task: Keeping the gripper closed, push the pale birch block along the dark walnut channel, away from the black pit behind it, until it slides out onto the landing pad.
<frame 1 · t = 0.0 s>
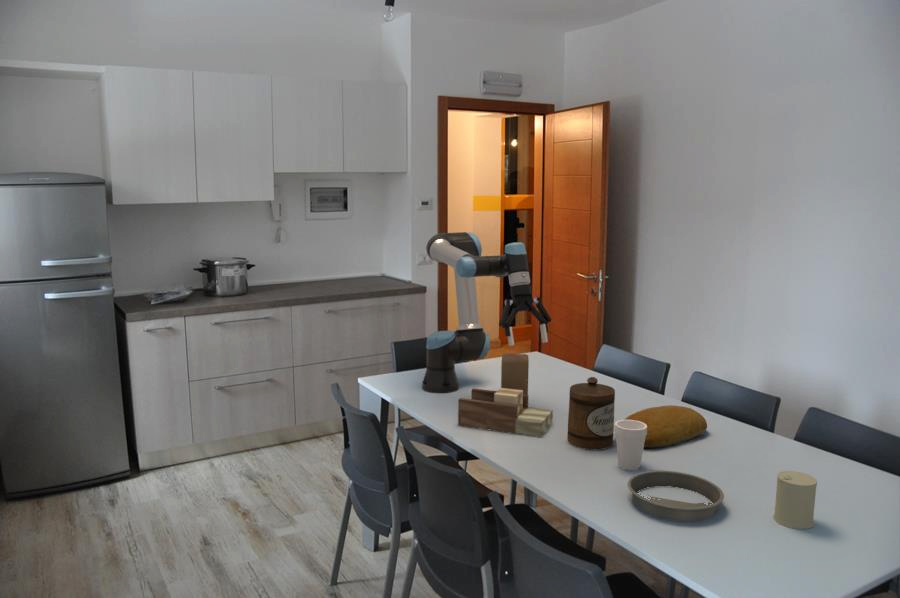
hand: (528, 344, 255), 28 cm above the table, tool tilted 20°, fingers open, 13 cm apart
can: (793, 521, 182), on the table
bread: (660, 437, 243), on the table
wooden block: (514, 408, 273), on the table
cake pan: (673, 504, 192), on the table
foam cup: (628, 466, 217), on the table
wooden container: (590, 442, 237), on the table
chute: (505, 424, 253), on the table
birch block: (508, 411, 252), point 5 cm above the table, touching chute
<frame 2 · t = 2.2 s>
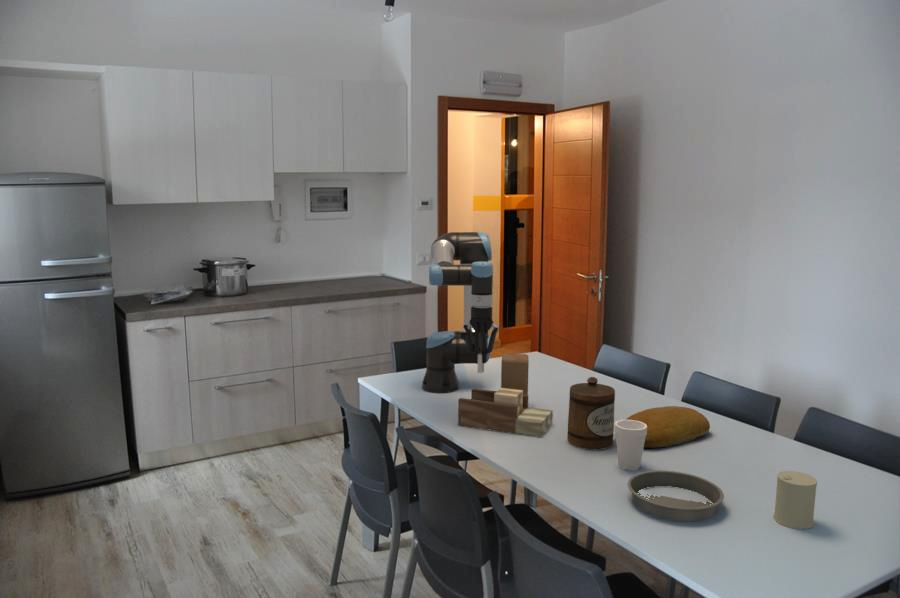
hand: (480, 371, 254), 18 cm above the table, tool pointing down, fingers closed
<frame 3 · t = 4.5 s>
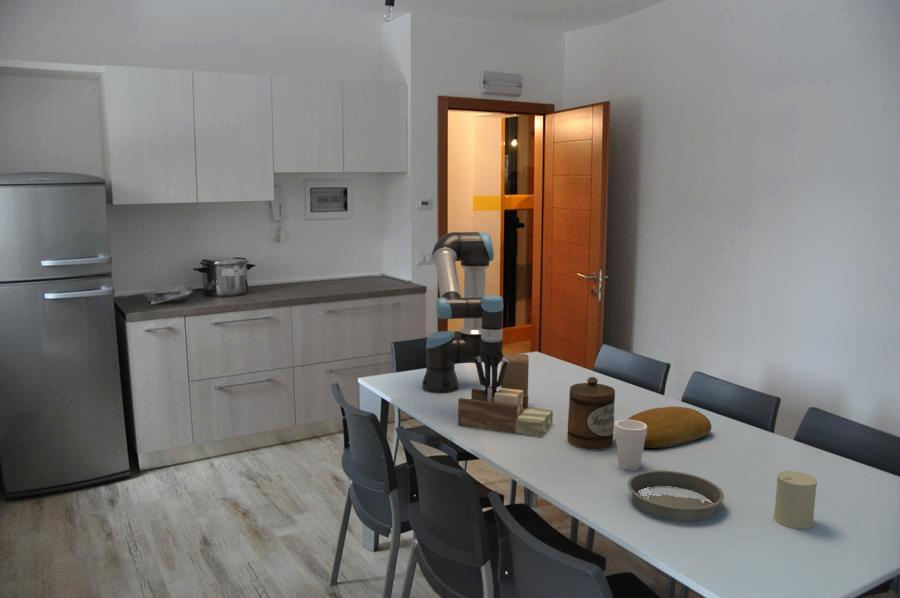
hand: (490, 404, 254), 7 cm above the table, tool pointing down, fingers closed
birch block: (508, 411, 252), point 5 cm above the table, touching chute, gripper
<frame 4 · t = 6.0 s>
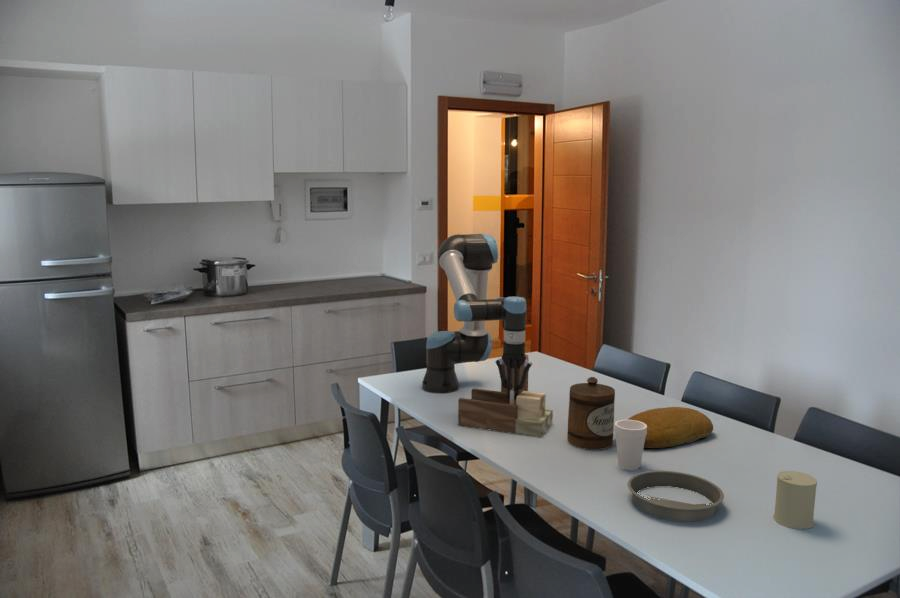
hand: (512, 407, 251), 7 cm above the table, tool pointing down, fingers closed
birch block: (530, 414, 249), point 5 cm above the table, touching chute, gripper
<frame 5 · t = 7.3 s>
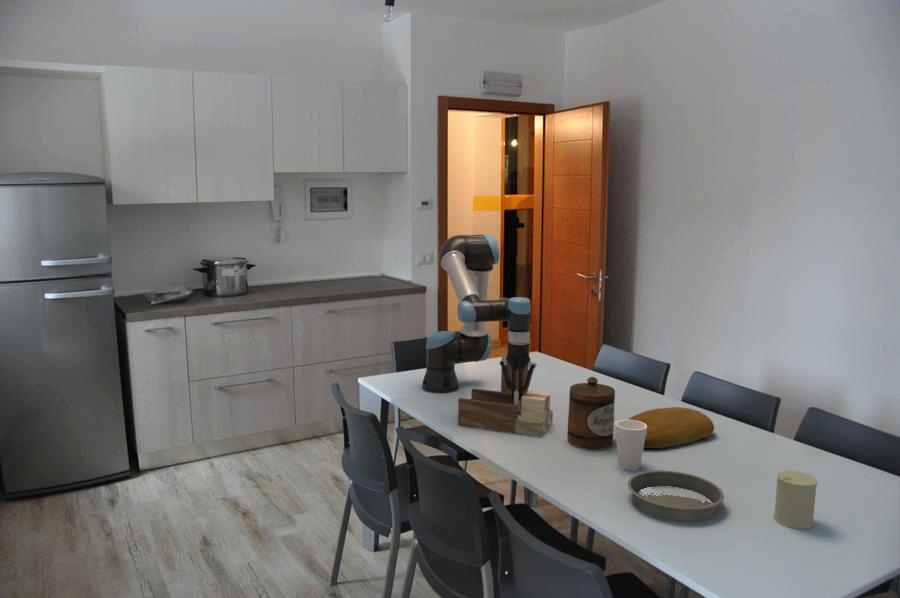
hand: (517, 408, 250), 6 cm above the table, tool pointing down, fingers closed
birch block: (535, 415, 248), point 5 cm above the table, touching chute
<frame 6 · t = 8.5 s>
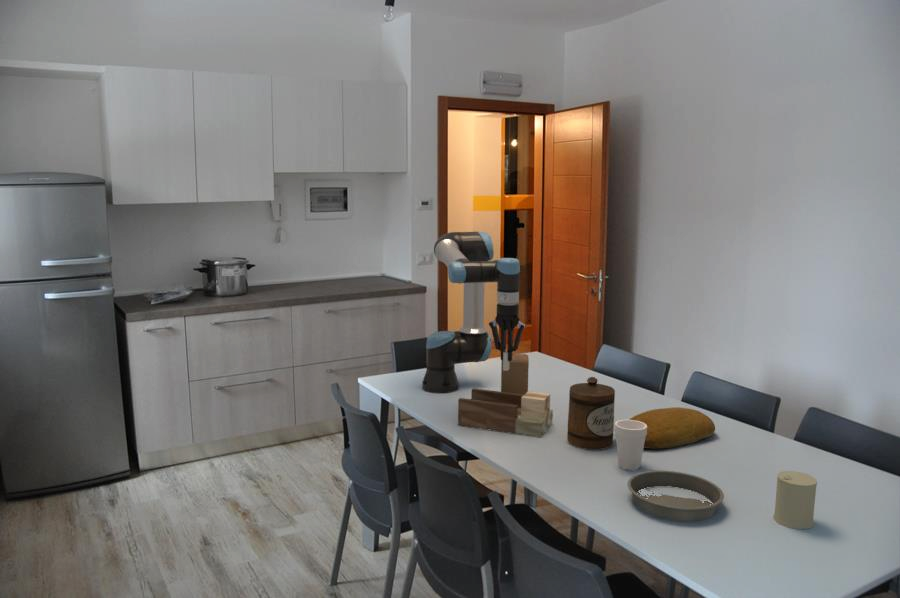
hand: (506, 369, 250), 20 cm above the table, tool pointing down, fingers closed
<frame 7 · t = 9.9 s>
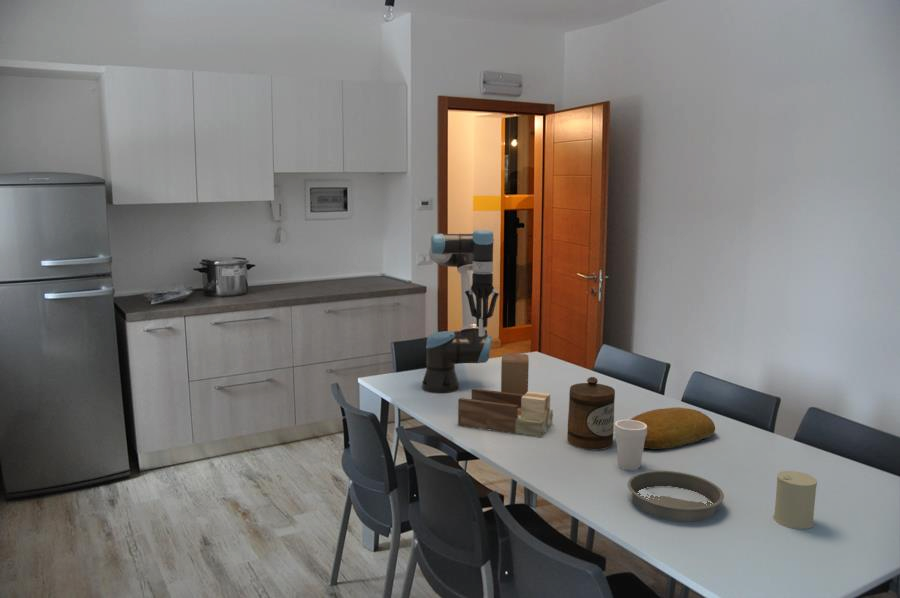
hand: (481, 335, 266), 28 cm above the table, tool pointing down, fingers closed
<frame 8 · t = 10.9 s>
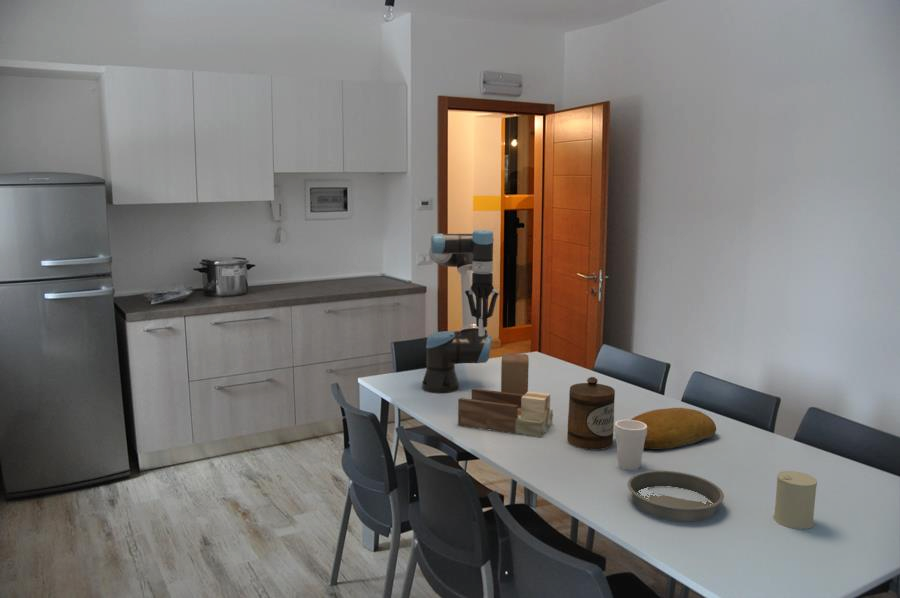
hand: (481, 335, 266), 28 cm above the table, tool pointing down, fingers closed
at the end: birch block inside the target area on the chute (0.3 cm from its centre), point 5.0 cm above the chute's base; birch block tilted 0° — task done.
